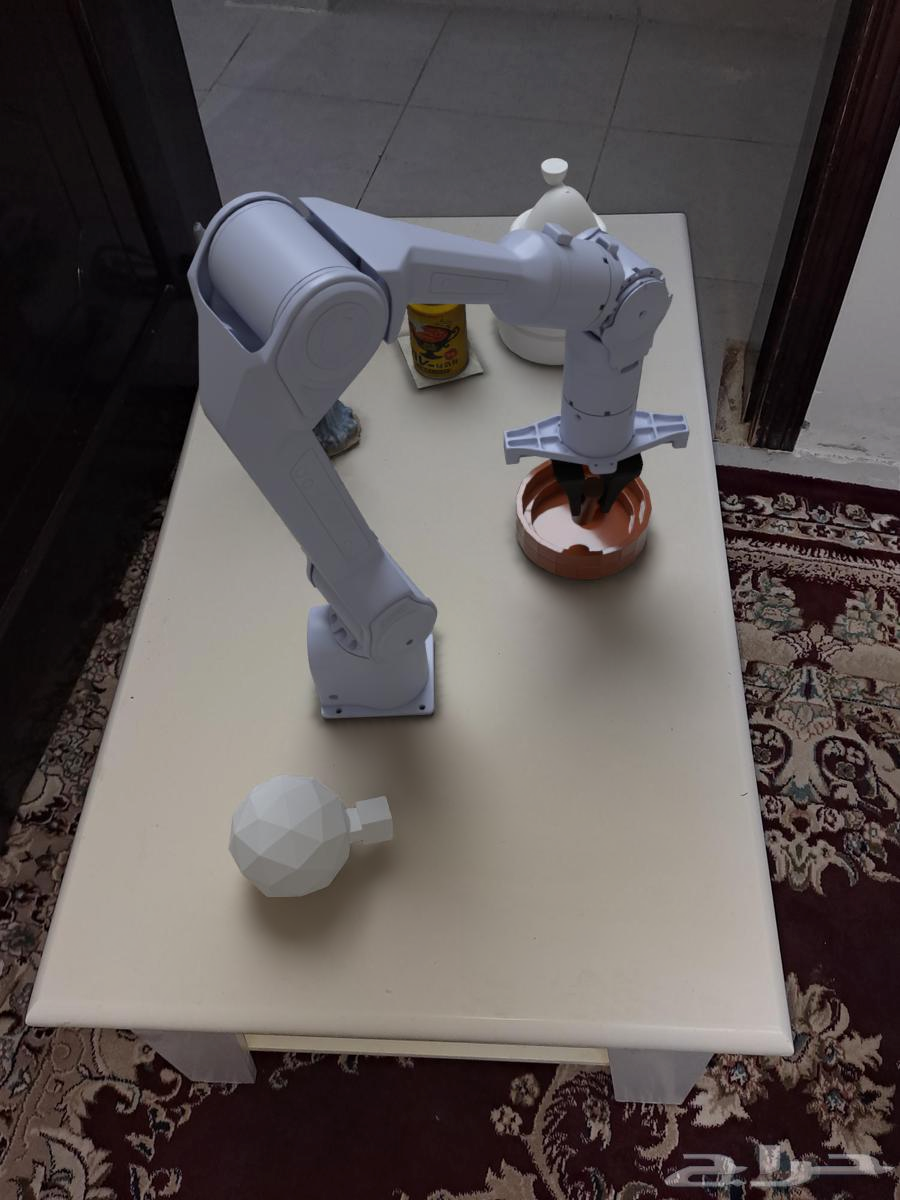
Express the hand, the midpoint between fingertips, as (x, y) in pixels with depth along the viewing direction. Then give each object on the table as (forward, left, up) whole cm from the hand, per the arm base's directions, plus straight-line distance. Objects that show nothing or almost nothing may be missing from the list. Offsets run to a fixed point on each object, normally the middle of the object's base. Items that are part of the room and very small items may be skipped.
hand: (588, 506), depth 86 cm
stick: (0, +2, -4) cm, 5 cm away
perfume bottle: (-23, -28, -7) cm, 37 cm away
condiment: (-13, +28, -7) cm, 32 cm away
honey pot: (0, +32, -7) cm, 33 cm away
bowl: (0, +3, -7) cm, 8 cm away
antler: (-27, +17, -7) cm, 33 cm away
